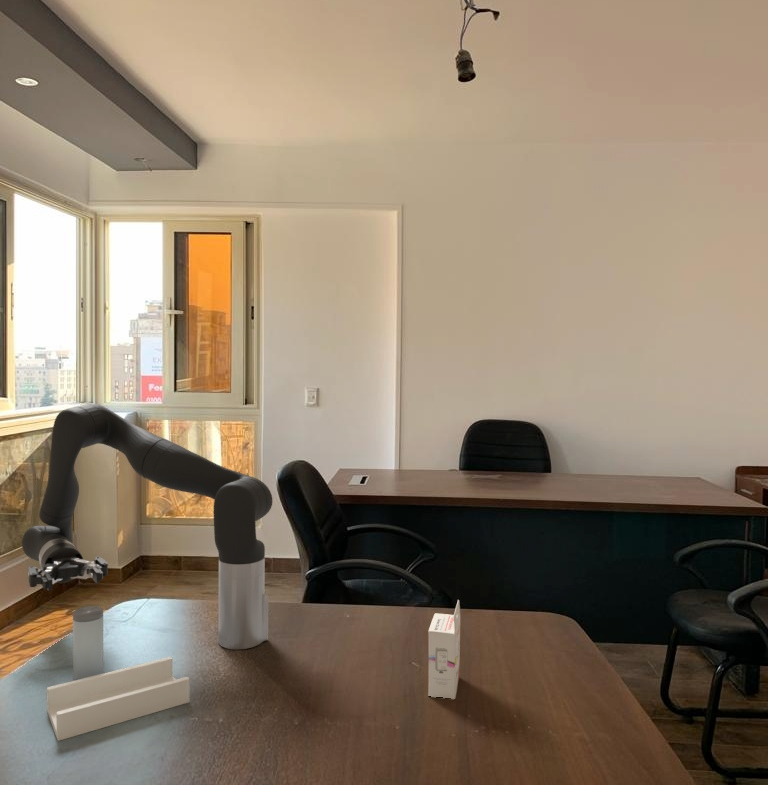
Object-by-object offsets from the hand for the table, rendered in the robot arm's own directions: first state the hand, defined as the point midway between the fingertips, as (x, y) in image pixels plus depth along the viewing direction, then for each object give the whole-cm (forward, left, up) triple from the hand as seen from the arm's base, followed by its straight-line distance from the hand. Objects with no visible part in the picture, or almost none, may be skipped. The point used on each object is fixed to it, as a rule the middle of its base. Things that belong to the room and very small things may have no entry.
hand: (74, 581), depth 126 cm
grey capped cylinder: (0, +11, -14) cm, 18 cm away
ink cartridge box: (-51, +50, -14) cm, 73 cm away
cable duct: (-2, +25, -14) cm, 29 cm away
